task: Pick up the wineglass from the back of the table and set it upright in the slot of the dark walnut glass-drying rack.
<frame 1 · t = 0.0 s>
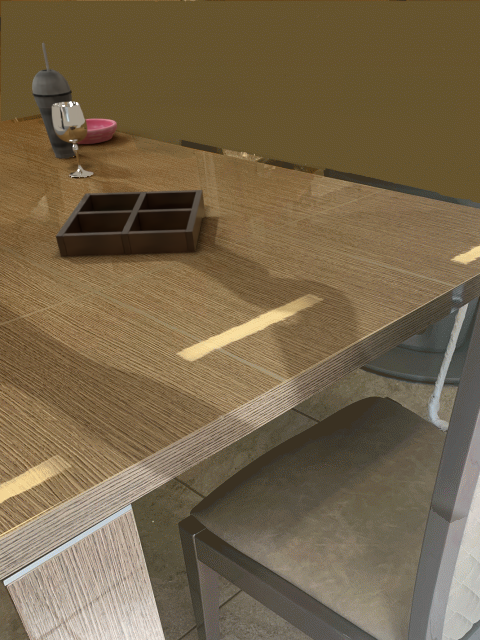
rack: (140, 238, 94), on the table
pink round shallow bowl: (90, 140, 142), on the table
beverage cup: (67, 156, 131), on the table
wineglass: (81, 175, 121), on the table
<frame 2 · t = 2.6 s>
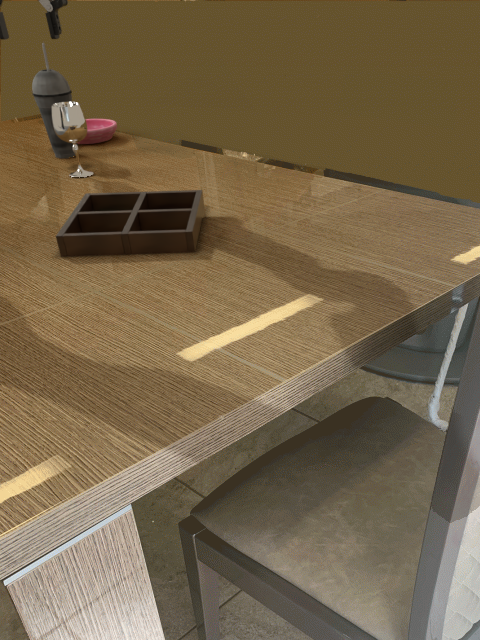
hand: (30, 38, 106), 22 cm above the table, tool pointing down, fingers open, 8 cm apart
nothing on the table moved.
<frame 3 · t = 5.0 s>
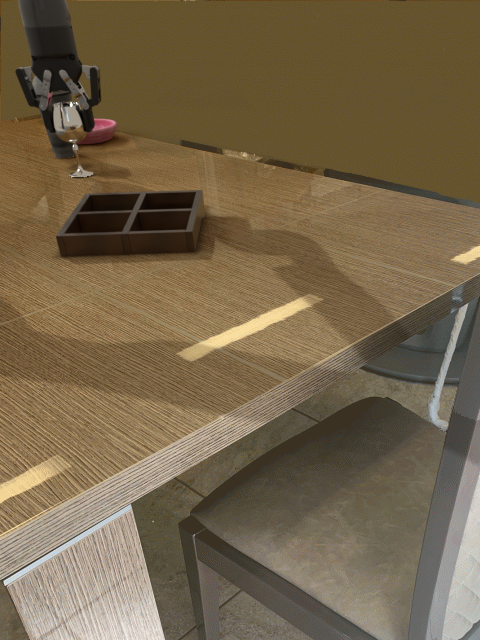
hand: (71, 131, 116), 8 cm above the table, tool pointing down, fingers closed on wineglass, 6 cm apart
wineglass: (81, 175, 121), on the table, touching gripper
everything else where it was.
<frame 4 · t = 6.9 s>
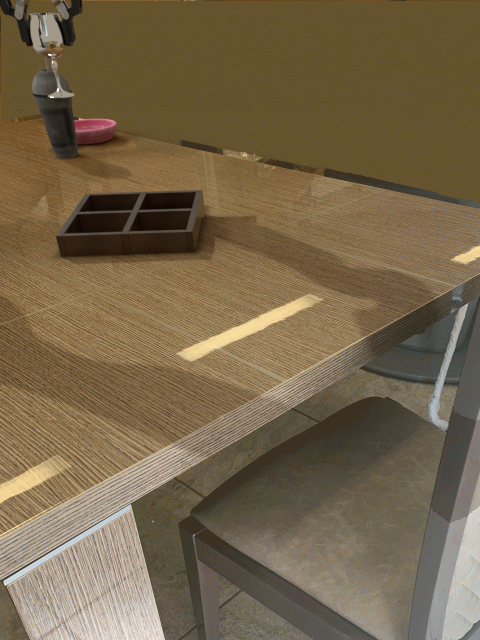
hand: (50, 45, 107), 21 cm above the table, tool pointing down, fingers closed on wineglass, 6 cm apart
wineglass: (61, 96, 112), point 13 cm above the table, touching gripper
everything else where it was.
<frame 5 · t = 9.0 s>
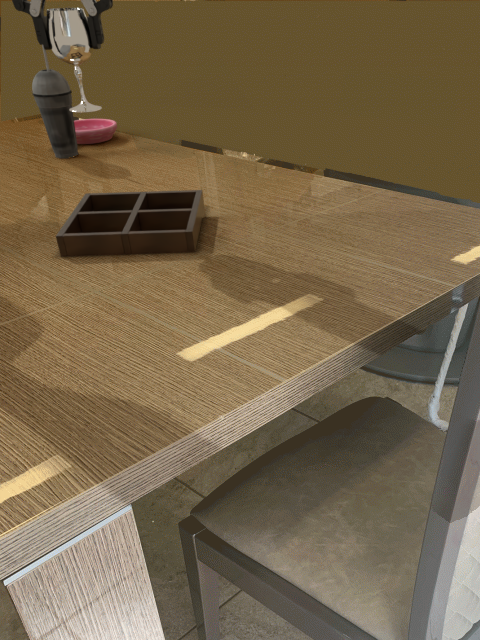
hand: (73, 48, 87), 23 cm above the table, tool pointing down, fingers closed on wineglass, 6 cm apart
wineglass: (86, 110, 92), point 16 cm above the table, touching gripper
everything else where it was.
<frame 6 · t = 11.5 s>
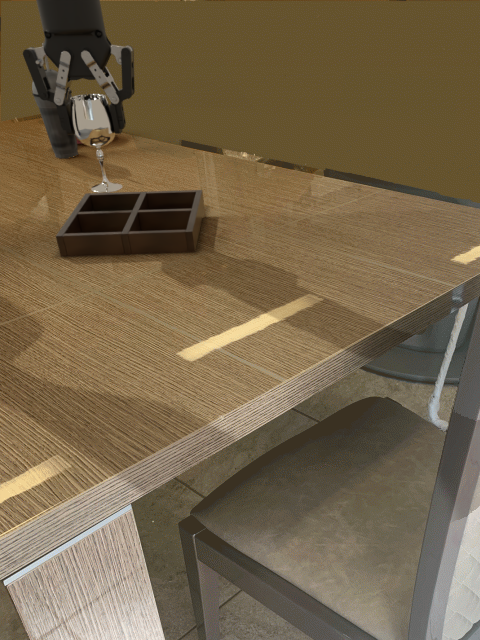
hand: (95, 132, 89), 14 cm above the table, tool pointing down, fingers closed on wineglass, 6 cm apart
wineglass: (107, 189, 94), point 6 cm above the table, touching gripper
everything else where it was.
when the fingers open (8 cm above the table, at t = 13.4 s): wineglass stays where it is, resting on rack.
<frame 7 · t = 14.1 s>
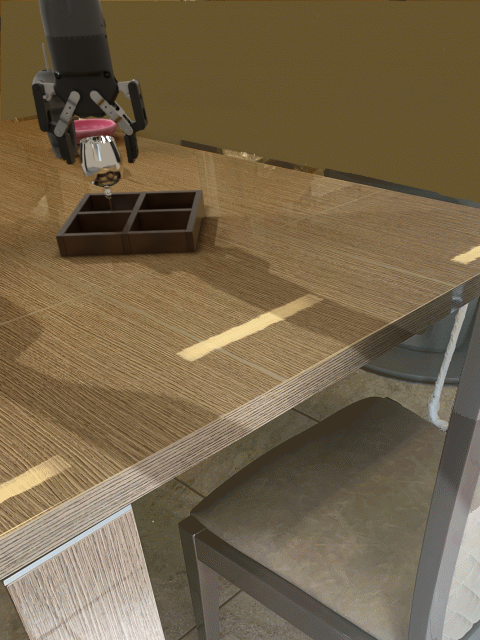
hand: (102, 162, 92), 10 cm above the table, tool pointing down, fingers open, 8 cm apart
wineglass: (114, 225, 97), point 1 cm above the table, touching rack
everything else where it was.
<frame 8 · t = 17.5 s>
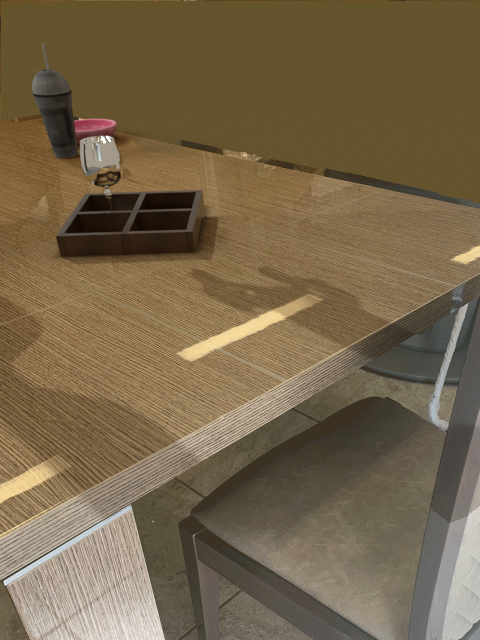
nothing on the table moved.
at the end: wineglass 0.2 cm from the target spot in the rack, point 0.6 cm above the rack's base; wineglass tilted 0°; the gripper is holding nothing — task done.
